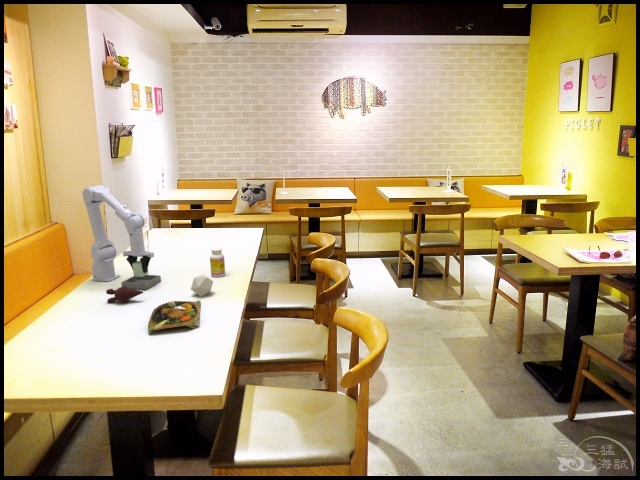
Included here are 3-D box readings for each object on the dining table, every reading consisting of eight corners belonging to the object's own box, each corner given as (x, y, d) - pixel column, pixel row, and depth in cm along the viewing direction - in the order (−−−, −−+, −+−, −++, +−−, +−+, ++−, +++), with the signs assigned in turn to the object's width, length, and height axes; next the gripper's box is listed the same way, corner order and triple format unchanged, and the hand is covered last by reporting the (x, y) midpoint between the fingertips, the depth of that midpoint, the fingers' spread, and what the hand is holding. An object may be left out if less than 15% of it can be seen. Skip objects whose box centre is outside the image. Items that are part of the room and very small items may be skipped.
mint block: (133, 276, 220) (132, 263, 218) (139, 273, 224) (138, 260, 223) (142, 276, 219) (141, 263, 217) (148, 273, 223) (147, 261, 221)
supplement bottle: (222, 277, 230) (220, 251, 227) (208, 277, 231) (206, 250, 228) (227, 273, 237) (225, 247, 233) (214, 272, 238) (212, 247, 235)
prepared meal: (153, 298, 196) (199, 293, 200) (154, 307, 197) (200, 301, 201) (145, 329, 170) (198, 323, 173) (146, 338, 171) (199, 332, 174)
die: (204, 290, 216) (189, 275, 211) (219, 282, 213) (204, 266, 208) (199, 303, 209) (183, 288, 204) (215, 295, 206) (199, 279, 201)
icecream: (145, 282, 206) (109, 287, 205) (139, 284, 198) (101, 288, 198) (147, 299, 206) (111, 303, 205) (141, 301, 198) (103, 306, 198)
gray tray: (122, 288, 218) (121, 282, 217) (138, 280, 229) (137, 274, 229) (145, 290, 215) (145, 284, 214) (161, 281, 226) (160, 275, 226)
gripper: (156, 241, 219) (159, 270, 223) (128, 239, 223) (131, 268, 226) (147, 245, 213) (150, 275, 216) (118, 243, 216) (122, 273, 220)
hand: (140, 272), depth 221 cm, fingers closed on mint block, 4 cm apart
